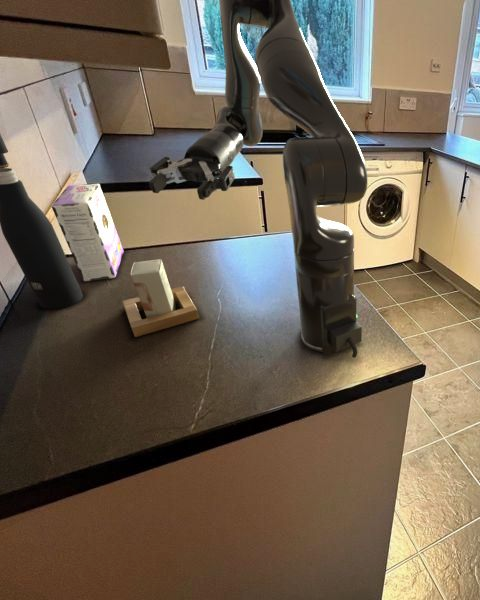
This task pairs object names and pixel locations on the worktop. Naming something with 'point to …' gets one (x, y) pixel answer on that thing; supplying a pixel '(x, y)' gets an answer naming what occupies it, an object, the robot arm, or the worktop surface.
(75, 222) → the candy box
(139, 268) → the white tall rectangular block
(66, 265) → the dark grey bottle
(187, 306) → the frame
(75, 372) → the worktop surface
